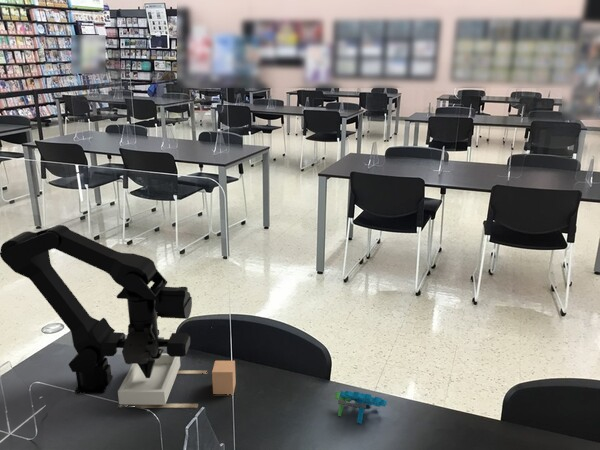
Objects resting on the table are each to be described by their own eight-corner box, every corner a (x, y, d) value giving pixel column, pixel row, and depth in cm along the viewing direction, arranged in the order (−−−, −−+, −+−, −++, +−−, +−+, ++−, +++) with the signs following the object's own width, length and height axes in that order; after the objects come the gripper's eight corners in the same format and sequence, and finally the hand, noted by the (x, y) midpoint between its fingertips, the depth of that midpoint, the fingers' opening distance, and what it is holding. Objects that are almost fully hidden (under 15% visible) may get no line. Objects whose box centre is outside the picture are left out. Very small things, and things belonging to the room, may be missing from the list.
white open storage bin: (119, 407, 109) (117, 391, 108) (139, 367, 123) (138, 353, 122) (165, 407, 109) (164, 391, 108) (180, 367, 123) (179, 353, 122)
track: (117, 407, 109) (117, 406, 109) (136, 370, 122) (136, 370, 122) (197, 408, 110) (197, 407, 110) (207, 371, 123) (207, 370, 122)
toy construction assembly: (392, 402, 110) (380, 392, 102) (388, 431, 107) (376, 423, 99) (344, 394, 114) (329, 384, 106) (339, 422, 112) (323, 413, 104)
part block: (213, 395, 114) (212, 372, 112) (216, 383, 118) (215, 360, 116) (233, 395, 114) (232, 372, 112) (235, 383, 118) (234, 360, 116)
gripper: (84, 334, 102) (93, 399, 107) (177, 334, 103) (182, 400, 108) (104, 308, 113) (111, 369, 118) (188, 309, 113) (192, 369, 118)
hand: (148, 377), depth 115 cm, fingers closed
